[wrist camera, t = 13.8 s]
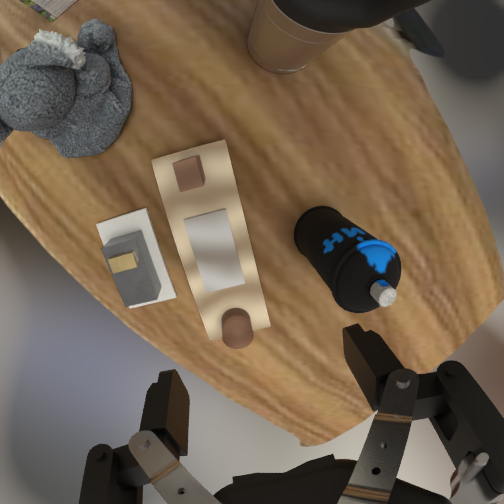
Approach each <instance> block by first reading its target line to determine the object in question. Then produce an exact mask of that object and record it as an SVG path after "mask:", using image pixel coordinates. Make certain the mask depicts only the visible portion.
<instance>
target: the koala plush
mask: <svg viewBox="0 0 504 504" xmlns="http://www.w3.org/2000/svg"><path fill="white" fill-rule="evenodd" d="M115 38H116V37H115V34H114V32H113V28H112V26H108V25H107V24H105V23H104V22H101V21H100V20H98V19H92V20H89V21H87V22H85V23H84V24H83V25H82V26H81V28H80V32H79V35H78V40H77V41H76V43H74V41H73V40H72V39H71V37H68V38H66V37H63V36H62V34H58V33H56V32H53V31H51V32H48V31H42V30H40V29H39V33H37V34H36V35H35V36H34V40H33V41H32V42H31V43H30V45H29V47H26V48H21V49H19V50H17V51H16V52H15V53H13V54H12V55H11V56H10V57H9V58H8V59H7V60H6V61H5V62H3V64H1V65H0V147H1V146H2V145H3V144H2V143H4V142H5V140H6V138H7V137H8V136H9V135H10V134H11V132H12V131H13V129H15V130H18V131H31V132H33V134H35V135H36V136H37V137H39V138H44V139H49V140H50V142H52V144H53V145H55V147H56V149H57V150H58V152H59V154H61V156H63V157H65V158H76V157H80V156H81V157H82V156H94V155H97V154H98V153H102V152H103V151H105V150H106V149H105V148H107V147H109V146H110V145H111V144H112V142H114V141H115V139H116V138H117V137H118V135H119V133H120V131H121V128H122V126H123V125H124V122H125V120H126V119H127V116H128V114H129V112H130V108H131V102H132V96H131V92H132V86H130V84H131V82H130V80H129V77H128V75H127V73H125V71H124V69H123V66H122V65H121V63H120V60H119V54H118V50H117V47H116V40H115ZM76 44H77V45H76Z"/></svg>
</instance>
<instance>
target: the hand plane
mask: <svg viewBox="0 0 504 504" xmlns="http://www.w3.org/2000/svg"><path fill="white" fill-rule="evenodd" d="M151 162H152V166H153V169H154V173H155V177H156V180H157V184H158V187H159V191H160V194H161V198H162V201H163V204H164V208H165V211H166V214H167V218H168V221H169V224H170V227H171V230H172V234H173V237H174V240H175V243H176V246H177V249H178V252H179V255H180V258H181V261H182V264H183V267H184V270H185V273H186V276H187V279H188V282H189V285H190V288H191V290H192V293H193V296H194V299H195V302H196V304H197V307H198V310H199V312H200V315H201V318H202V321H203V323H204V326H205V329H206V331H207V334H208V336H209V339H210V341H211V340H216V339H220V338H222V339H223V342H224V343H225V344H226V345H227V346H228V347H230V348H234V349H240V348H244V347H246V346H248V345H249V344H250V343H251V342H252V340H253V331H254V330H258V329H262V328H266V327H270V326H271V325H270V321H269V317H268V313H267V309H266V305H265V301H264V296H263V292H262V288H261V284H260V280H259V276H258V272H257V268H256V264H255V259H254V255H253V251H252V247H251V243H250V239H249V235H248V231H247V227H246V222H245V218H244V214H243V210H242V206H241V202H240V198H239V194H238V190H237V186H236V181H235V177H234V173H233V169H232V165H231V161H230V157H229V153H228V149H227V145H226V140H221V141H217V142H213V143H209V144H205V145H201V146H198V147H194V148H190V149H187V150H183V151H180V152H176V153H173V154H170V155H166V156H163V157H160V158H157V159H153V160H151Z"/></svg>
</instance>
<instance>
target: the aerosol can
mask: <svg viewBox="0 0 504 504" xmlns="http://www.w3.org/2000/svg"><path fill="white" fill-rule="evenodd" d="M294 239H295V243H296V246H297V248H298V250H299V251H300V252H301V253H302V254H303V255H304V256H306V257H307V259H308V260H309V261H310V263H311V264H312V265H313V267H314V268H315V269H316V271H317V272H318V273H319V275H320V276H321V278H322V279H323V280H324V282H325V283H326V284H327V286H328V287H329V288H330V290H331V291H332V294H333V297H334V299H335V301H336V302H337V304H338V305H339V306H340V307H342V308H343V309H344V310H347V311H349V312H353V313H364V312H369V311H371V310H374V309H376V308H378V307H379V306H382V307H388V306H390V305H391V304H392V303H393V302H394V301H395V299H396V295H397V294H396V291H395V289H396V287H397V285H398V283H399V280H400V276H401V261H400V258H399V255H398V253H397V251H396V250H395V249H394V248H393V247H392V246H391V245H390V244H388V243H387V242H384V241H381V240H378V239H377V238H375V237H374V236H372V235H371V234H369V233H368V232H366V231H365V230H363V229H362V228H360V227H358V226H357V225H355V224H354V223H352V222H351V221H349V220H348V219H346V218H345V217H343V216H342V215H341V214H340V213H339V212H338V211H337V210H335V209H333V208H331V207H327V206H319V207H315V208H312V209H310V210H308V211H307V212H305V213H304V214H303V215H302V216H301V218H300V219H299V220H298V222H297V224H296V227H295V232H294Z"/></svg>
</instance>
